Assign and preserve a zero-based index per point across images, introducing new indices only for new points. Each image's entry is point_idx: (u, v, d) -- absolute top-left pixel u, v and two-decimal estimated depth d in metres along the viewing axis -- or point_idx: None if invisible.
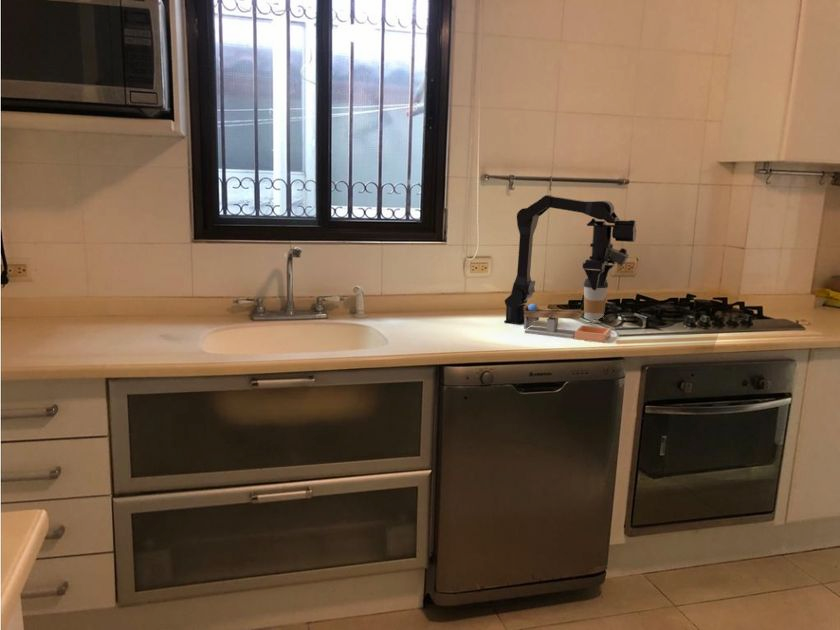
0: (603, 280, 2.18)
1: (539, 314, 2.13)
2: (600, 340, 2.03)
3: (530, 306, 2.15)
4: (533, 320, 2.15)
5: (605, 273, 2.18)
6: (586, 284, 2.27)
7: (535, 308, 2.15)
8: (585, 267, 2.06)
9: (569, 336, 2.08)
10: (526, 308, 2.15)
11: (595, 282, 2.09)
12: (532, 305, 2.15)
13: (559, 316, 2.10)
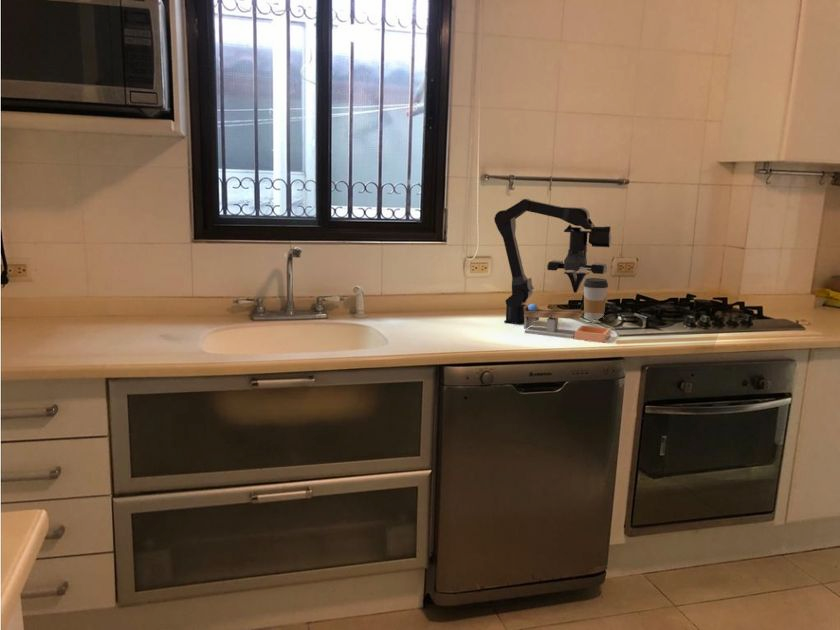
0: None
1: (539, 314, 2.13)
2: (600, 340, 2.03)
3: (530, 306, 2.15)
4: (533, 320, 2.15)
5: None
6: (586, 284, 2.27)
7: (535, 308, 2.15)
8: None
9: (569, 336, 2.08)
10: (526, 308, 2.15)
11: None
12: (532, 305, 2.15)
13: (559, 316, 2.10)
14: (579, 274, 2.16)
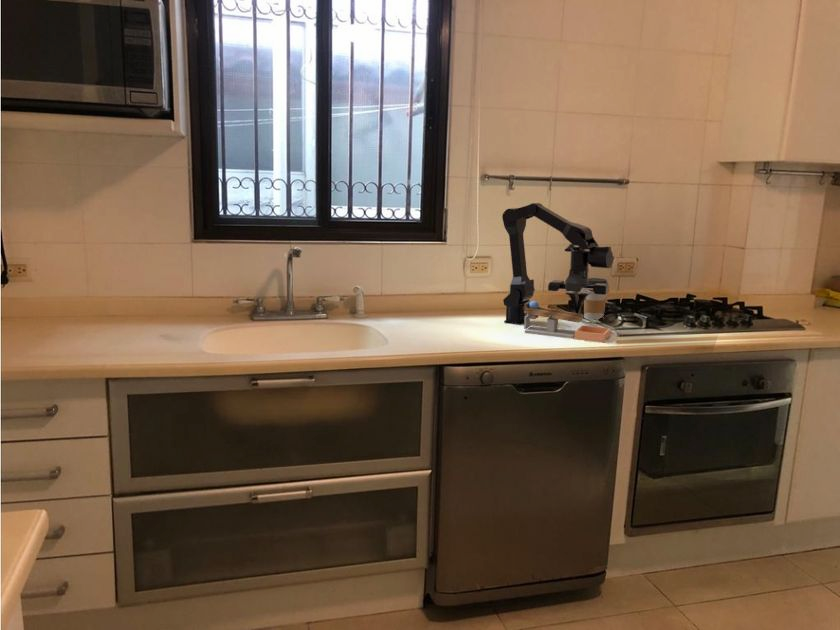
0: None
1: (539, 312, 2.13)
2: (600, 340, 2.03)
3: (532, 303, 2.14)
4: (532, 317, 2.14)
5: None
6: None
7: (536, 306, 2.14)
8: None
9: (569, 336, 2.08)
10: (527, 304, 2.15)
11: None
12: (534, 302, 2.14)
13: (559, 317, 2.10)
14: (581, 295, 2.11)
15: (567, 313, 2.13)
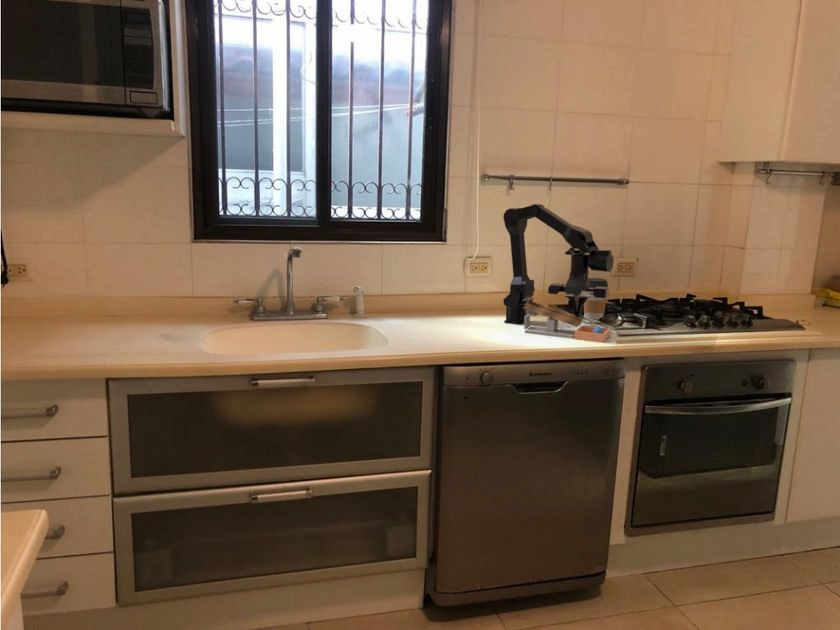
0: None
1: (540, 311, 2.12)
2: (600, 340, 2.03)
3: None
4: (532, 314, 2.14)
5: None
6: None
7: None
8: None
9: (569, 336, 2.08)
10: (529, 301, 2.15)
11: None
12: None
13: (559, 319, 2.10)
14: (581, 298, 2.11)
15: (567, 315, 2.13)
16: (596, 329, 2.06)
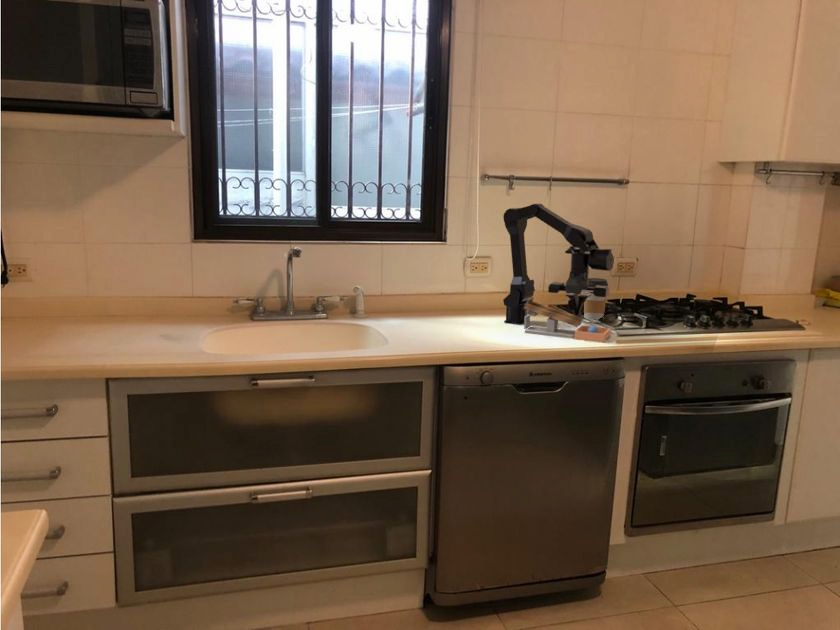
0: None
1: (540, 311, 2.12)
2: (600, 340, 2.03)
3: (595, 331, 2.06)
4: (532, 314, 2.14)
5: None
6: None
7: None
8: None
9: (569, 336, 2.08)
10: (529, 301, 2.15)
11: None
12: None
13: (559, 319, 2.10)
14: (581, 297, 2.11)
15: (567, 315, 2.13)
16: (589, 331, 2.08)
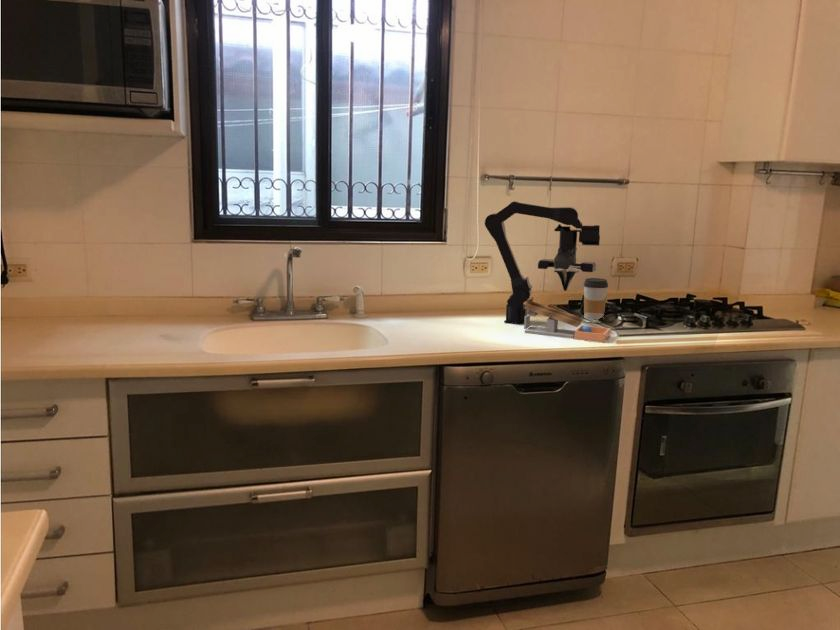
0: None
1: (540, 311, 2.12)
2: (600, 340, 2.03)
3: (585, 328, 2.08)
4: (532, 314, 2.14)
5: None
6: (586, 284, 2.27)
7: None
8: None
9: (569, 336, 2.08)
10: (529, 301, 2.15)
11: None
12: (588, 328, 2.08)
13: (559, 319, 2.10)
14: (569, 272, 2.20)
15: (567, 315, 2.13)
16: None
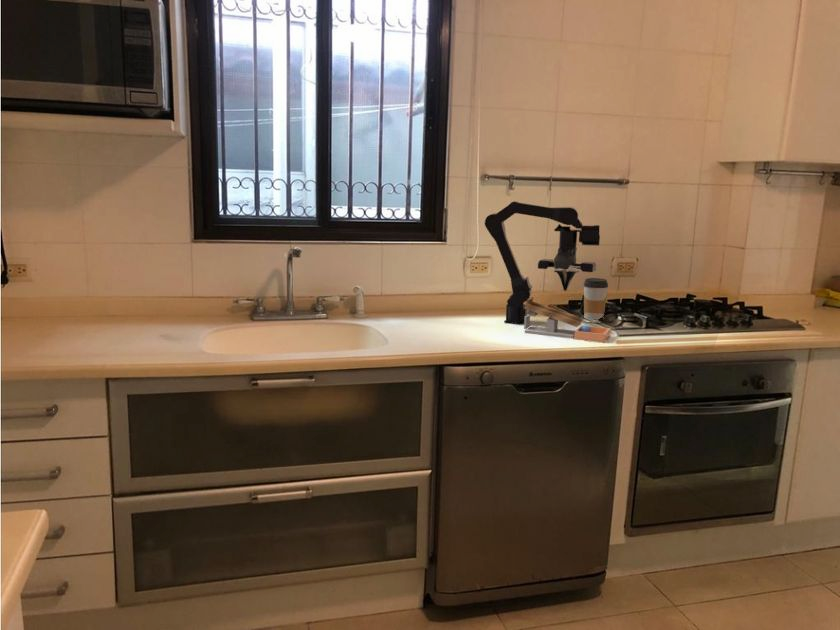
0: None
1: (540, 311, 2.12)
2: (600, 340, 2.03)
3: (584, 328, 2.08)
4: (532, 314, 2.14)
5: None
6: (586, 284, 2.27)
7: (588, 331, 2.08)
8: None
9: (569, 336, 2.08)
10: (529, 301, 2.15)
11: None
12: (586, 327, 2.08)
13: (559, 319, 2.10)
14: (569, 272, 2.20)
15: (567, 315, 2.13)
16: None
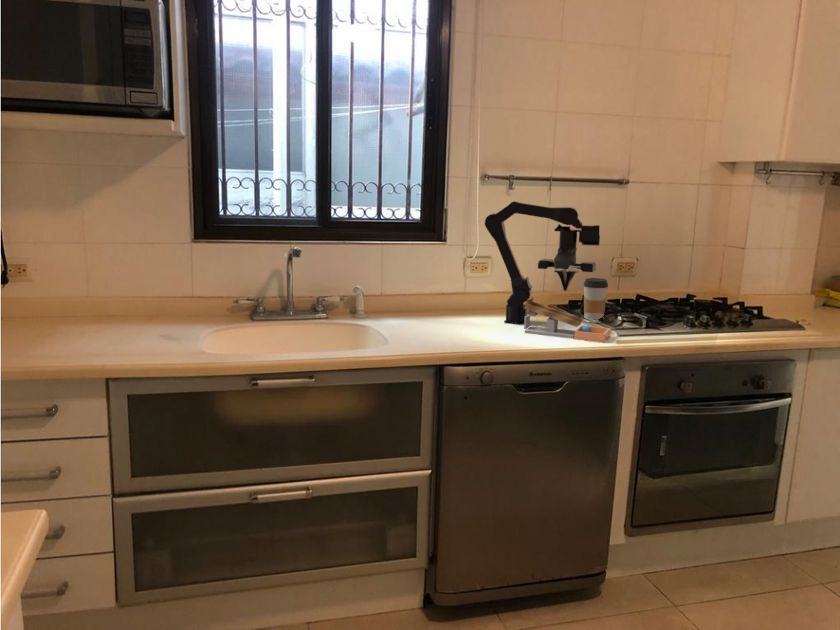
0: None
1: (540, 311, 2.12)
2: (600, 340, 2.03)
3: (585, 328, 2.08)
4: (532, 314, 2.14)
5: None
6: (586, 284, 2.27)
7: (589, 331, 2.08)
8: None
9: (569, 336, 2.08)
10: (529, 301, 2.15)
11: None
12: (587, 328, 2.08)
13: (559, 319, 2.10)
14: (569, 272, 2.20)
15: (567, 315, 2.13)
16: None
